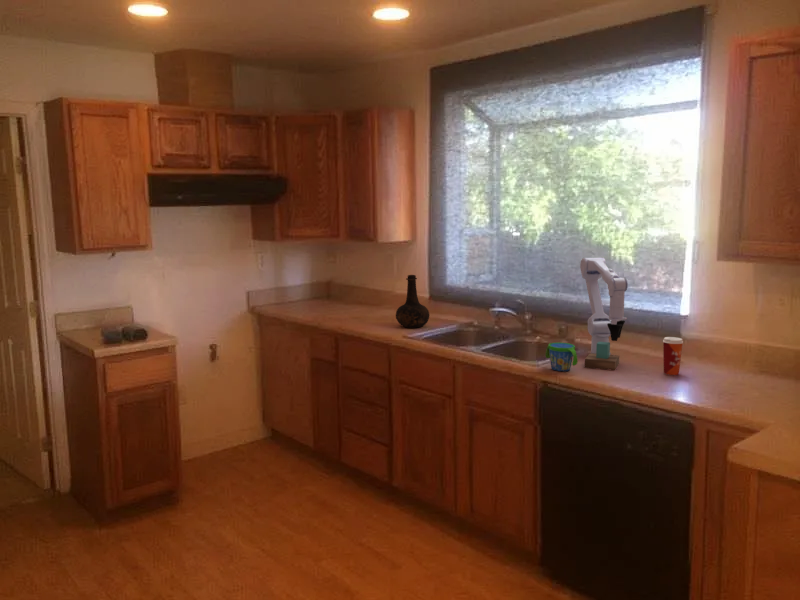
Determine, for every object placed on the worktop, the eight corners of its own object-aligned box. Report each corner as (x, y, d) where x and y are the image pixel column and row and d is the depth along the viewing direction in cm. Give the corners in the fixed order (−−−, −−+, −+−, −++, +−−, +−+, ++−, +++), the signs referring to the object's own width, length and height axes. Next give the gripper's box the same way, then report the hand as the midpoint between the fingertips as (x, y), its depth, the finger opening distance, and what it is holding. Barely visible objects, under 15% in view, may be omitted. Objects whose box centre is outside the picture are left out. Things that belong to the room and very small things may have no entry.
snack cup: (584, 372, 281) (585, 347, 280) (563, 375, 277) (563, 350, 275) (558, 364, 295) (559, 340, 294) (538, 367, 291) (539, 342, 289)
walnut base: (589, 362, 301) (590, 353, 300) (618, 365, 296) (619, 355, 295) (584, 368, 290) (584, 358, 289) (614, 371, 285) (615, 361, 284)
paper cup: (675, 376, 274) (677, 341, 272) (657, 373, 280) (658, 338, 278) (685, 373, 279) (687, 338, 277) (667, 369, 285) (669, 335, 283)
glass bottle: (435, 325, 383) (435, 274, 379) (418, 331, 368) (418, 277, 364) (407, 322, 393) (407, 272, 389) (389, 327, 378) (389, 275, 374)
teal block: (598, 355, 295) (598, 341, 294) (609, 356, 293) (610, 342, 292) (596, 357, 291) (596, 343, 290) (607, 358, 289) (607, 344, 288)
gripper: (624, 309, 285) (623, 342, 286) (629, 305, 298) (628, 336, 299) (606, 308, 288) (605, 341, 289) (611, 304, 301) (610, 335, 302)
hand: (615, 339), depth 295 cm, fingers open, 7 cm apart
